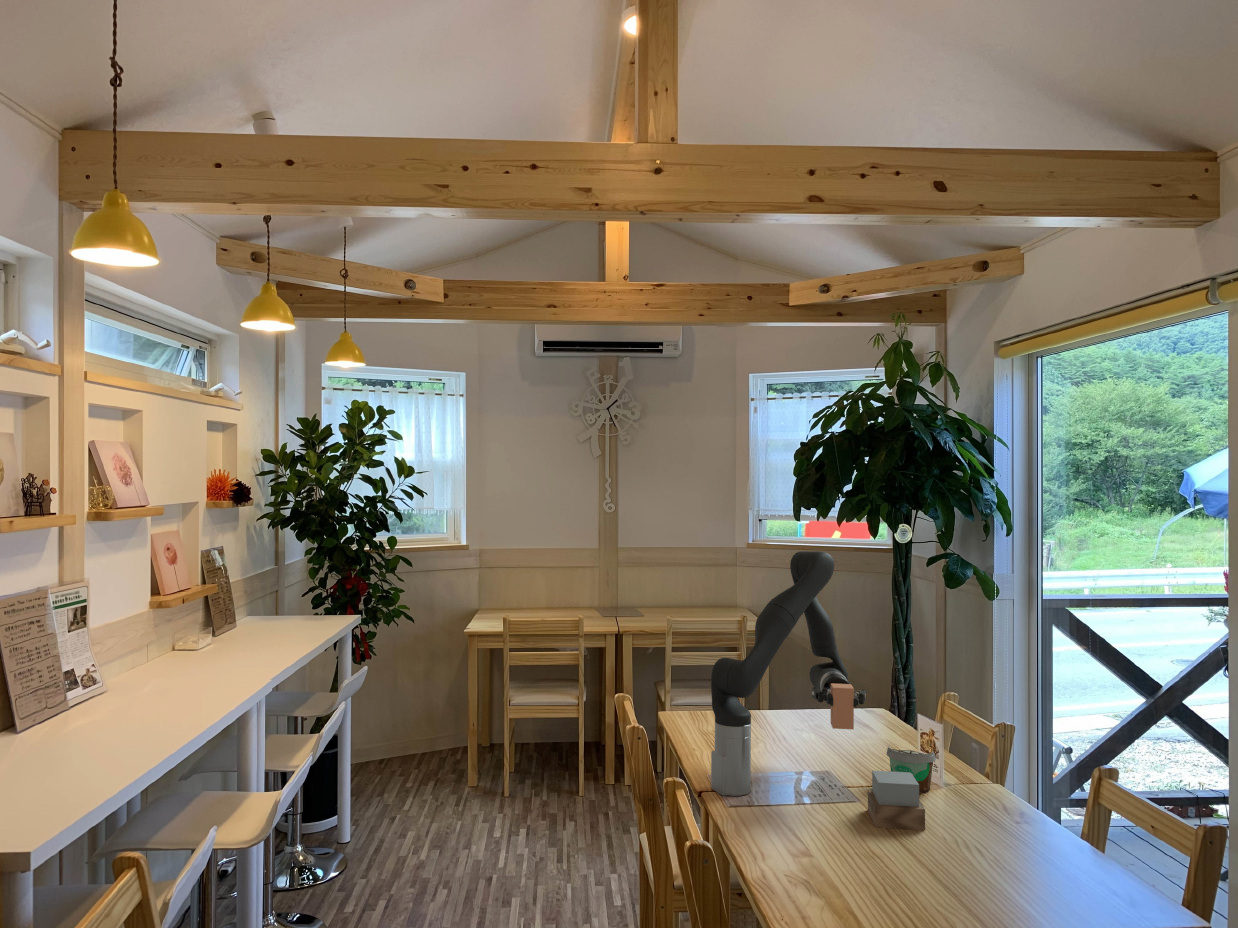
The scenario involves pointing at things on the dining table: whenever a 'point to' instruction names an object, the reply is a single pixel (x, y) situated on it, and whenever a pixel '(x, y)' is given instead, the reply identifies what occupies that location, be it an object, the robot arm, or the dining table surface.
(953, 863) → the dining table surface
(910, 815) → the walnut base slab
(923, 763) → the food container
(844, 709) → the terracotta pillar
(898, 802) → the slate top slab
